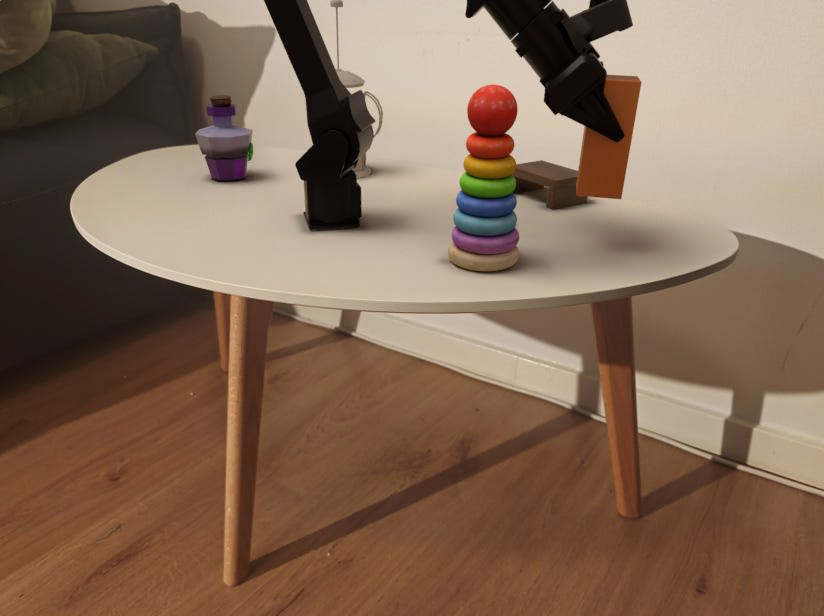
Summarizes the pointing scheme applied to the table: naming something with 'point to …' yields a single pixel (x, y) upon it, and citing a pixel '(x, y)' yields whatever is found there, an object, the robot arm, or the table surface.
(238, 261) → the table surface
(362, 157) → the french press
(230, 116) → the potion bottle
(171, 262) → the table surface
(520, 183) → the walnut shelf
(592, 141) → the orange box
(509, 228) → the stacking toy
